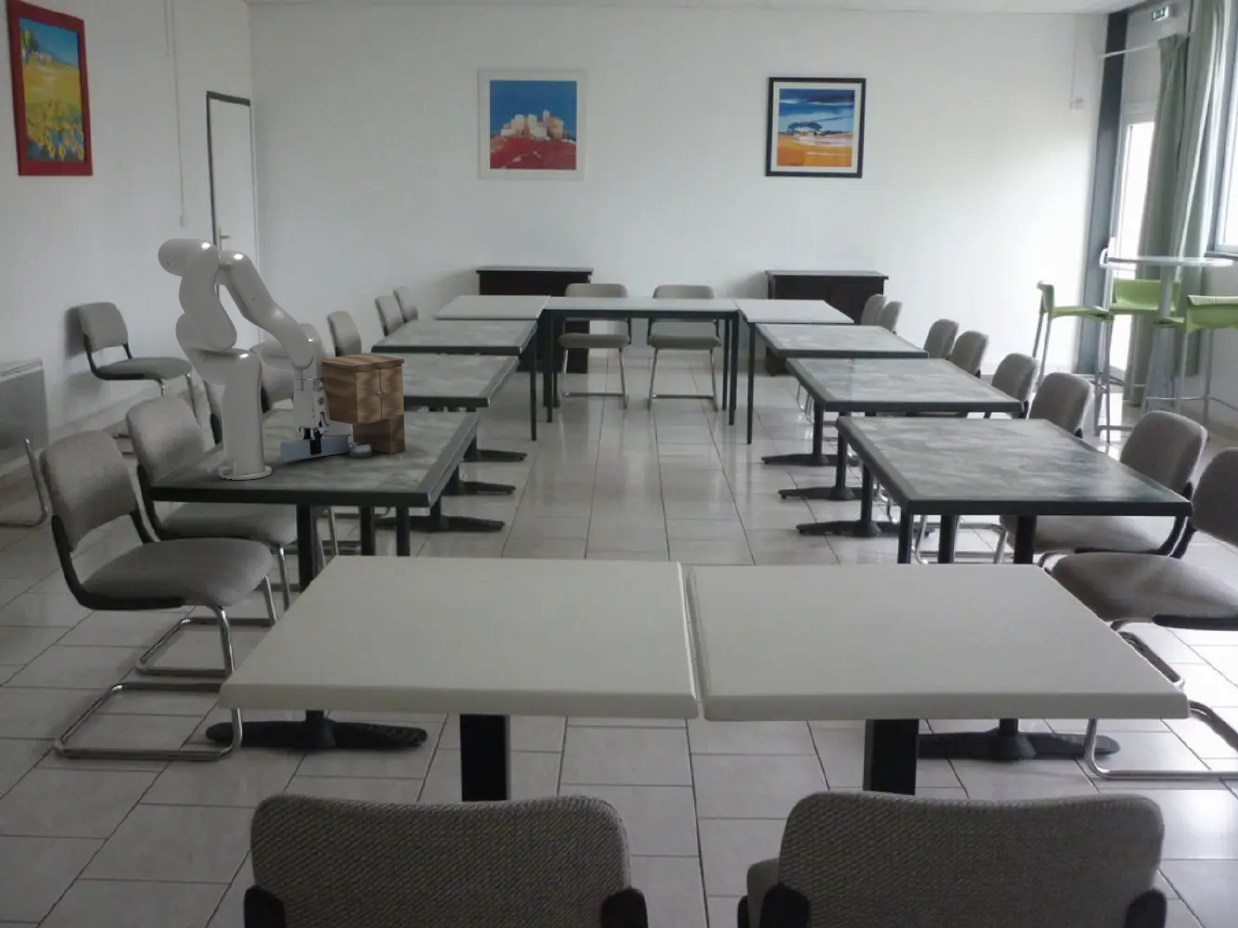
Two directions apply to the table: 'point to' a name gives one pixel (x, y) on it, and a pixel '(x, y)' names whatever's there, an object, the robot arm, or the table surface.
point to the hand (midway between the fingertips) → (312, 452)
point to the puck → (360, 449)
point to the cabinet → (367, 398)
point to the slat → (302, 447)
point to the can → (338, 428)
